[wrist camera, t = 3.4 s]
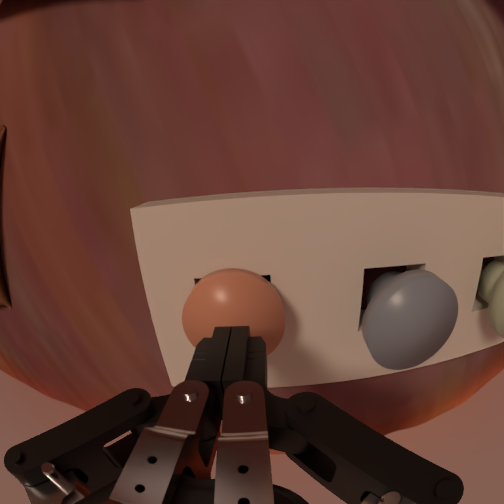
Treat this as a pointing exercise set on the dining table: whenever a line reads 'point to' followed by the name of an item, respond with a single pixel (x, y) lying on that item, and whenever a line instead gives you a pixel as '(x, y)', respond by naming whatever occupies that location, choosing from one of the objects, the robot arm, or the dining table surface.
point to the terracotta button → (234, 306)
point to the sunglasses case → (0, 288)
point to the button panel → (319, 266)
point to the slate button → (408, 317)
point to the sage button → (493, 294)
